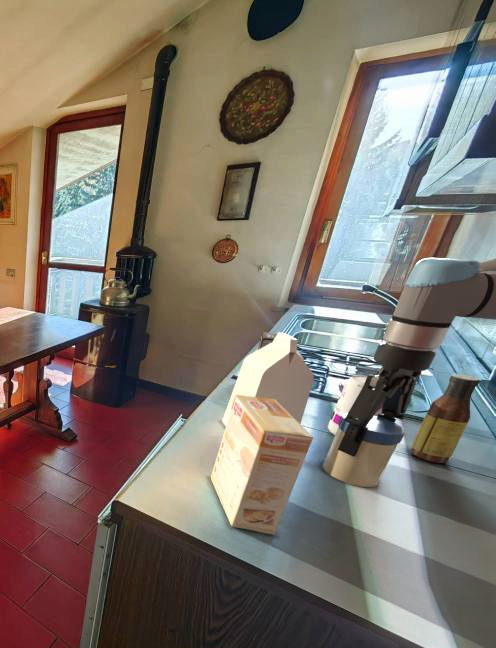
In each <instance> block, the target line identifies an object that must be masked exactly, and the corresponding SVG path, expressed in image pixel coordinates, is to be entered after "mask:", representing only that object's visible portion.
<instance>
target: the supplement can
mask: <svg viewBox="0 0 496 648" xmlns="http://www.w3.org/2000/svg"><path fill="white" fill-rule="evenodd" d="M367 376H368V375H359V374H358V375H357V374H355V375H352V376H351V377H350V378H348V379H347V380H346V381H345V383H344V385H343V388H342V390H341V393H340V395H339V398H338V400H337V403H336V405H335V408H334V410H333V413H332V415H331V417H330V420H329V422H328V424H327V428H328V429H327V430H329V432H330V433H331V434H333V435H334V436H335V435H336V432H337V430H338V428H339V426H338V425H339V424H338V423H339V421H340V418H341V417H342V415H343V414H344V413H348V412H349V410H350V409H351V407H352V405H353V404H354V402H355V400H356V398H357V397H358V395H359V393H360V391H361V390H362V388H363V386H364V383H365V381H366V378H367ZM382 407H383V404H382V405H381V406H380V408H379V409H378V411H377V412H376V413H375V415H374V416H377V415H378V414H383V413H382Z"/></svg>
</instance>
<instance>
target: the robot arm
mask: <svg viewBox="0 0 496 648" xmlns="http://www.w3.org/2000/svg"><path fill="white" fill-rule="evenodd" d="M397 301H398V302H397V304H396V307H395V309H394V311H393V314H392V315H391V318H390V320H389V322H386V323H385V324H384V327H385V328H386V330H385V331H384V334H383V336H382V339H383V340H384V341H382V342H380V343H379V344H378V347H377V349H376V351H375V354H374V356H373V360H374V361H375V362H376V363H378V364H380V365H381V368H380V369H379V370H378V371H377V372H376V373H375V375H373V374H368V375H366V376H367V378H366V381H365V383H364V386H363V388H362V390H361V391H360V393H359V395H358V397H357V398H356V400H355V402H354V404H353V405H352V407H351V409H350V410H349V412H348V414H347V416H346V417H345V418H344V421H346V422H348V423H349V425H348V427H347V430H346V432H345V434H344V436H343V439H342V441H341V443H340V445H339V448H338V450H339V451H342V452H344V453H346V454H348V455H351V456H355V455H356V453H357V451H358V449H359V447H360V445H361V442H362V440H363V438H364V436H365V434H366V432H367V430H368V427H366V426H367V424H368V423H369V421H370V420H371V419H372V417H373V416H374V415H375V413H376V412H377V411H378V409H379V408H380V406H381V405H382V404H383V407H382V413H381V414H378V415H377V417H381V418H384V419H387V420H390V421H392V422H394V423H396V421H397V420H400V421H401V420H404V418H405V417H406V415H405V413H406V412H407V409H408V407H409V403H410V401H411V398H412V395H413V392H414V390H415V387H416V384H417V382H418V380H419V378H420V376H421V375H422V372H423V371H427V370H429V369H430V367H431V365H432V364H433V361H434V359H435V357H436V355H437V352H436V350H437V349H440V348H441V346H442V343H443V342H444V340H445V338H446V335H447V333H448V331H449V329H450V328H451V325H452V323H453V321H454V320H455V318H456V317H459V318H474V319H482V320H483V319H485V320H494V321H495V320H496V258H492V259H489V260H485V261H480V262H479V261H478V260H473V259H463V258H460V259H459V258H445V257H426V258H422V259H421V260H419V261H417V262H416V264H414V266H413V268H412V270H411V271H410V274H409V276H408V278H407V279H406V281H405V282H404V287H403V289H402V292H401V294H400V297H399V298H398V300H397ZM356 418H357V419H356Z"/></svg>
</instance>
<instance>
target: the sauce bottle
mask: <svg viewBox="0 0 496 648" xmlns="http://www.w3.org/2000/svg"><path fill="white" fill-rule="evenodd" d="M480 381H481V380H480V379H479V378H477V377H474V376H471V375H465V374H455V373H454V374H451V375H450V377H449V379H448V385H447V386H446V389H445V390H444V392H443V394H442V395H440V396H439V397H437V398H436V399H434V400H433V401H432V402H431V403H430V406H429V408H428V410H427V412H426V414H425V415H424V418H423V420H422V422H421V423H420V424H421V425H420V426H419V429H418V431H417V433H416V435H415V438H414V439H413V443H412V444H411V449H410V453H411V454H412V455H414V456H415V457H417V458H419V459H421V460H424V461H426V462H431V463H435V464H446V463H448V462H449V461H450V458H452V457H453V455H454V452H455V450H456V448H457V446H458V444H459V442H460V440H461V438H462V436H463V434H464V432H465V430H466V429H467V426H468V424H469V422H470V419H471V398H472V395H473V393H474V391H475V388H476V387H478V386H479V384H480Z"/></svg>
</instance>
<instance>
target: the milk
mask: <svg viewBox="0 0 496 648" xmlns="http://www.w3.org/2000/svg"><path fill="white" fill-rule="evenodd" d="M276 334H277V335H276V337H275V339H274V340H273V342H272V343H270V344H268V345H266V346H265V347H263V348H261V349H259V350H258V349H257V350H255V351H253V352H252V353H250V354H248V355H247V356H246V357H245V358H244V360H243V361H242V364H241V367H240V370H239V373H238V375H237V378H236V381H235V383H234V387H233V390H232V392H231V395H230V398H229V401H228V404H227V406H226V409H225V411H224V415H223V417H222V420H221V423H222V424H223V425H224V426H225V427H226V425H227V422H228V418H229V415H230V412H231V408H232V405H233V402H234V398H235V395H243V396H251V397H261V398H269V399H275V400H276V401H277V402H278V403H279V404H280V405H281V406H282V407H283V408H284V409H285V410H286V411H287V412H288V413H289V414H290V415H291V416H292V417H293V418H294V419H295V420H296V421H297V422H298V423H299V424H300V425H302V424H301V423H302V420H303V417H304V414H305V411H306V407H307V404H308V400H309V397H310V394H311V390H312V387H313V385H314V381H315V376H314V373H313V371H312V370H311V368H310V367H309V366H308V365H307V363H306V362H305V361H304V359H305V358H304V356H303V355H302V354H301V353H300V352H299V351H298V338H295V337H293V336H291V335H289V334H288V333H286V332H277V333H276Z"/></svg>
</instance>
